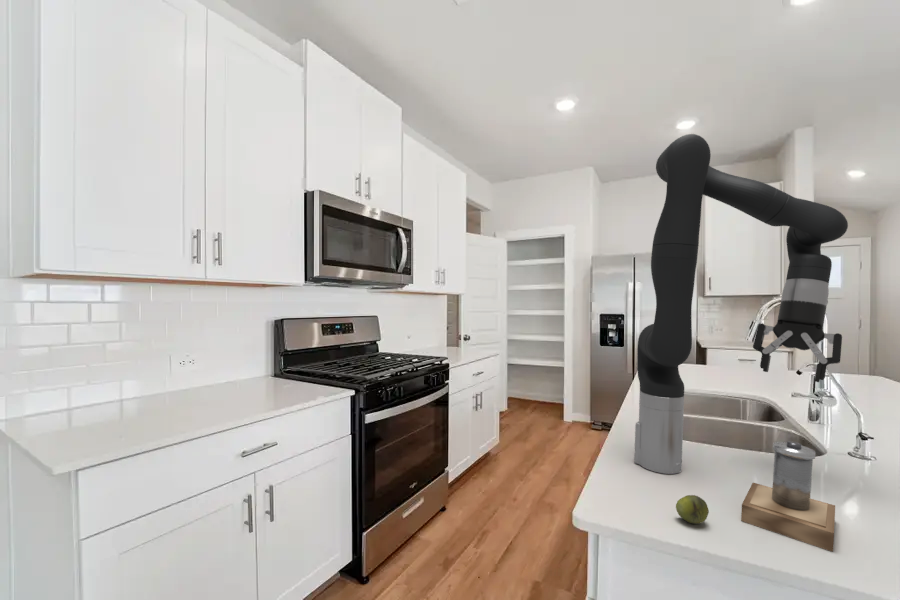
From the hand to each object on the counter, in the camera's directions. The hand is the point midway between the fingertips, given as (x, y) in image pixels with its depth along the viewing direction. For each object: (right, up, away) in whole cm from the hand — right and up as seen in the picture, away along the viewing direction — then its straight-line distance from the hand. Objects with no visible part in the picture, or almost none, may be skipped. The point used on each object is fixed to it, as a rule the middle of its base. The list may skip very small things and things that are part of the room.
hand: (790, 376), depth 87 cm
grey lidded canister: (-12, -20, -14) cm, 27 cm away
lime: (-30, -23, -15) cm, 41 cm away
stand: (-12, -23, -14) cm, 30 cm away
